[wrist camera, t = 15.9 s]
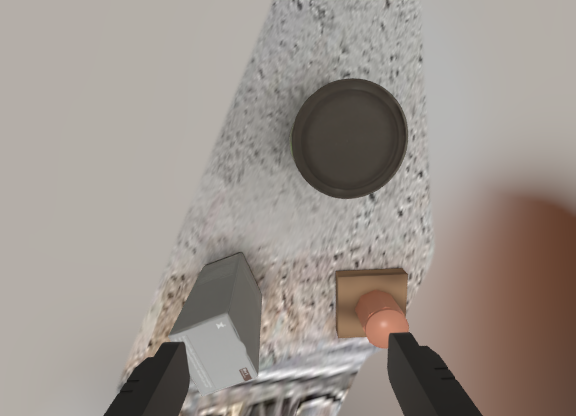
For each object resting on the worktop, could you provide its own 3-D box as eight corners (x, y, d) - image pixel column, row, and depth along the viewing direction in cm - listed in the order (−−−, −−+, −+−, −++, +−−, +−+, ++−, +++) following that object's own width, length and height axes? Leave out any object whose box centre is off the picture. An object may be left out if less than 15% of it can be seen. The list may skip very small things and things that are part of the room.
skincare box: (203, 264, 43) (156, 334, 27) (248, 249, 42) (226, 310, 27) (225, 312, 44) (193, 403, 29) (268, 297, 44) (259, 381, 28)
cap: (365, 330, 43) (375, 354, 38) (350, 300, 42) (359, 321, 37) (400, 315, 42) (415, 338, 38) (386, 284, 41) (399, 303, 36)
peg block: (335, 271, 43) (343, 291, 37) (402, 268, 43) (420, 288, 37) (336, 329, 45) (343, 357, 39) (399, 326, 45) (416, 354, 39)
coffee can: (313, 193, 40) (327, 219, 27) (275, 128, 38) (269, 120, 24) (378, 155, 39) (428, 161, 25) (342, 85, 37) (375, 52, 23)
